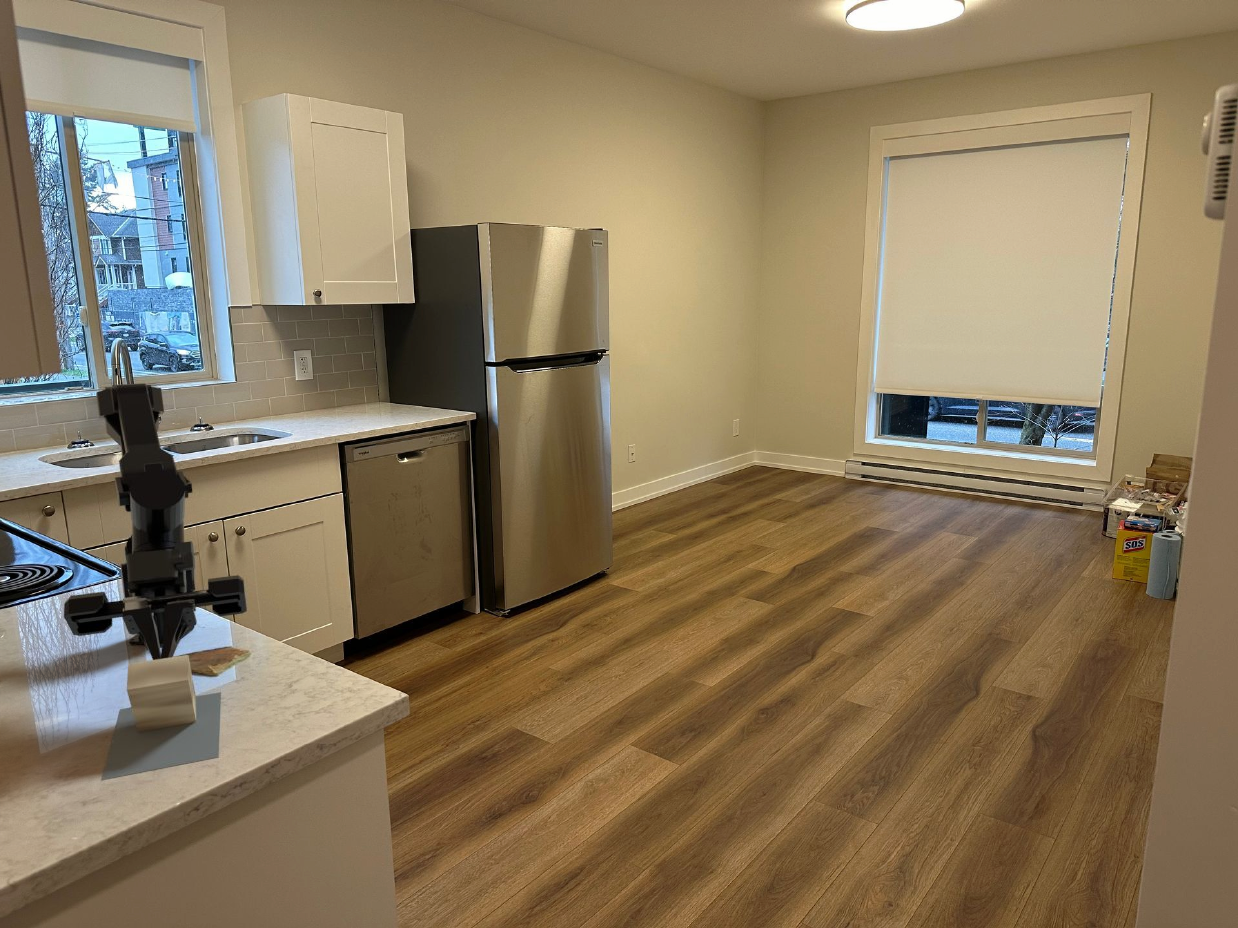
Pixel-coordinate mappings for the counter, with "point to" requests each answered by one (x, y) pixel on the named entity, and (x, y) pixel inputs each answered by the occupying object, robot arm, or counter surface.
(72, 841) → the counter surface
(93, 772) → the counter surface
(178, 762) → the rubber mat
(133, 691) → the beige block
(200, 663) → the shard
